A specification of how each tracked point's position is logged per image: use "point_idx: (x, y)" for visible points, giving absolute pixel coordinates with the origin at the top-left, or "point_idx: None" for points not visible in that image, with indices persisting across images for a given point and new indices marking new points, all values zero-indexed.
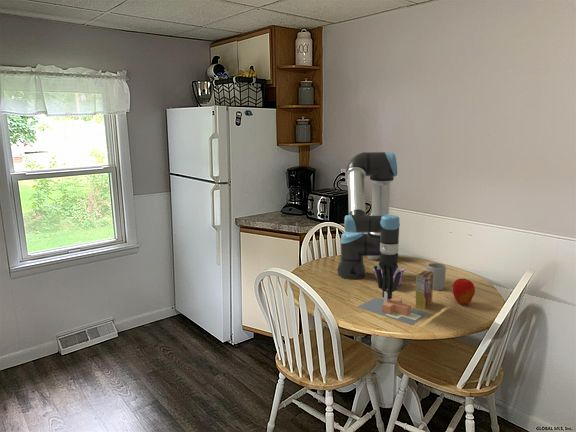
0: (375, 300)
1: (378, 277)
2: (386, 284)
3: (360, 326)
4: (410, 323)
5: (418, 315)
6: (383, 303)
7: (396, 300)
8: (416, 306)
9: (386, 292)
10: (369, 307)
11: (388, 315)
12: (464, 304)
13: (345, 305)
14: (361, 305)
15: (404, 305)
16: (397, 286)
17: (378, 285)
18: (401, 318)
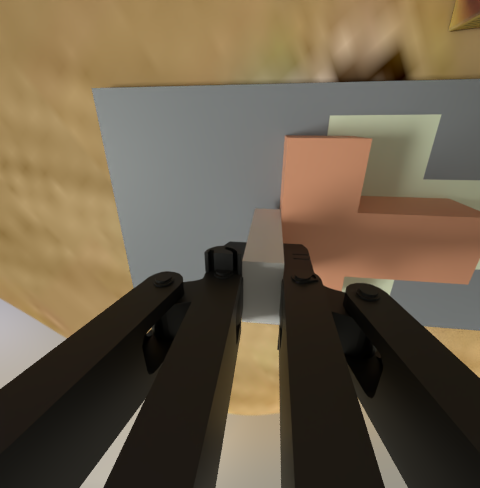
0: (134, 153)
1: (66, 479)
2: (232, 346)
3: (262, 408)
4: (478, 321)
5: None
6: (206, 163)
7: (330, 191)
8: (475, 23)
9: (270, 321)
10: (183, 272)
11: None
12: None
13: (75, 290)
14: (136, 275)
15: (434, 247)
16: (430, 340)
17: (148, 350)
18: (408, 295)
